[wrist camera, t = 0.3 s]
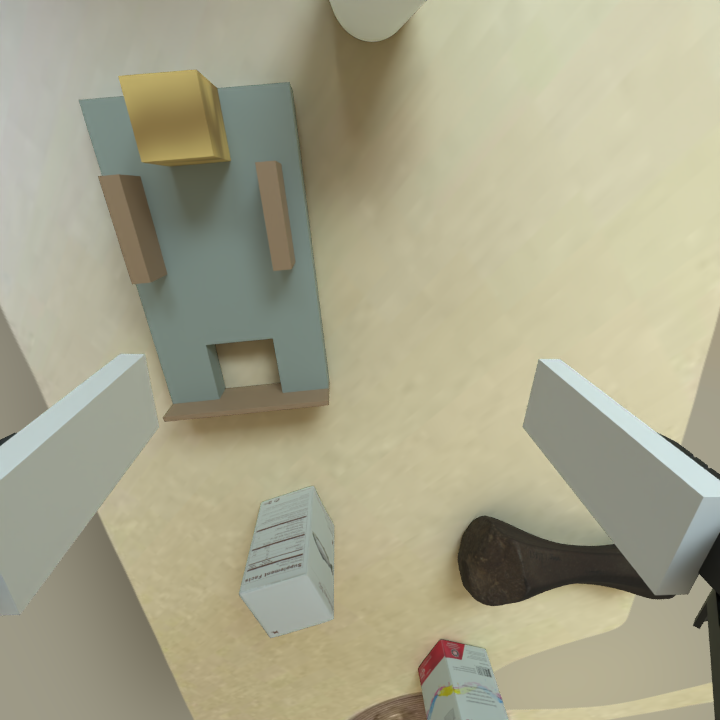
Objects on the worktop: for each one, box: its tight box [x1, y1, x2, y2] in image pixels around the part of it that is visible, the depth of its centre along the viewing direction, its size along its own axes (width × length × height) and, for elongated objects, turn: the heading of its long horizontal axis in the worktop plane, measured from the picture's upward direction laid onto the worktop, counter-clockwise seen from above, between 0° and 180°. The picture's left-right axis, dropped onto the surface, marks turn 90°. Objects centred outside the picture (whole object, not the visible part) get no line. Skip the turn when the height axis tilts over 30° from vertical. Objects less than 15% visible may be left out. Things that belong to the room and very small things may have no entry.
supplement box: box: [239, 486, 334, 638], centre depth 44 cm, size 7×7×13 cm
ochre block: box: [118, 70, 231, 167], centre depth 29 cm, size 5×5×5 cm
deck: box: [79, 82, 329, 422], centre depth 35 cm, size 27×16×6 cm, turn 5°
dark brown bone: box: [458, 516, 675, 606], centre depth 51 cm, size 11×10×28 cm
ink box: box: [418, 639, 509, 720], centre depth 59 cm, size 9×9×12 cm
